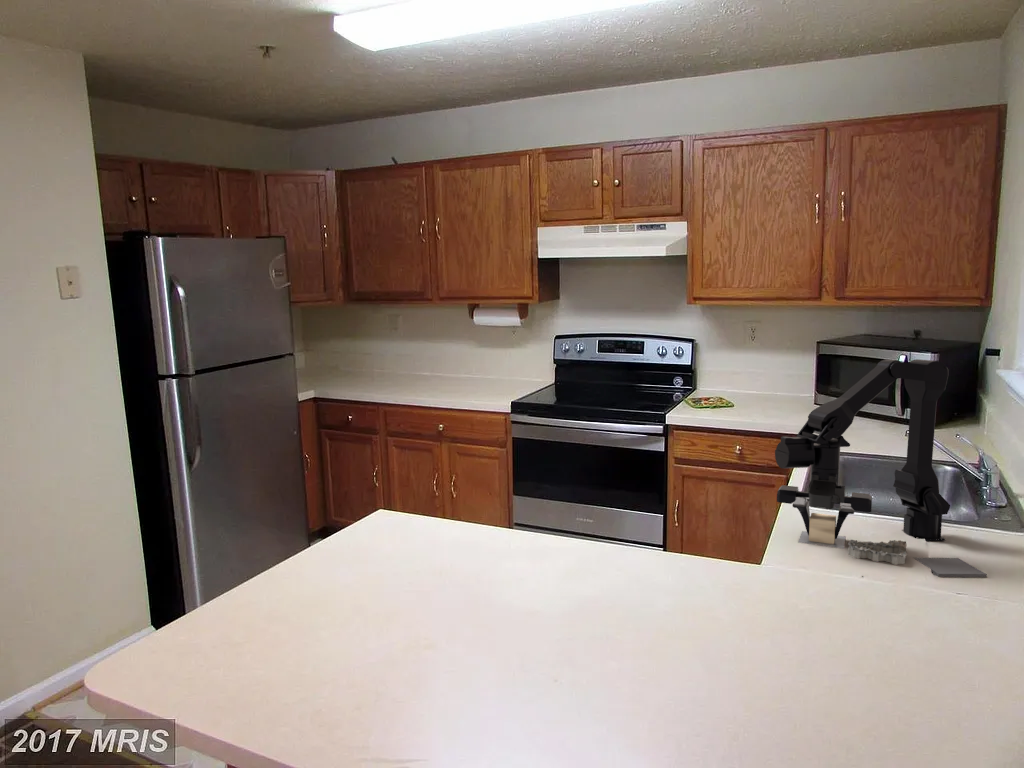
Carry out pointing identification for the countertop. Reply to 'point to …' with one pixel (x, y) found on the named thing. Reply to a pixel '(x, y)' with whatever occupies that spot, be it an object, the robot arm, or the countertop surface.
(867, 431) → the countertop surface
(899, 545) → the egg carton
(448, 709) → the countertop surface
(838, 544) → the tile
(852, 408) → the robot arm
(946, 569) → the charcoal mat
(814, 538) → the maple block
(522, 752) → the countertop surface
